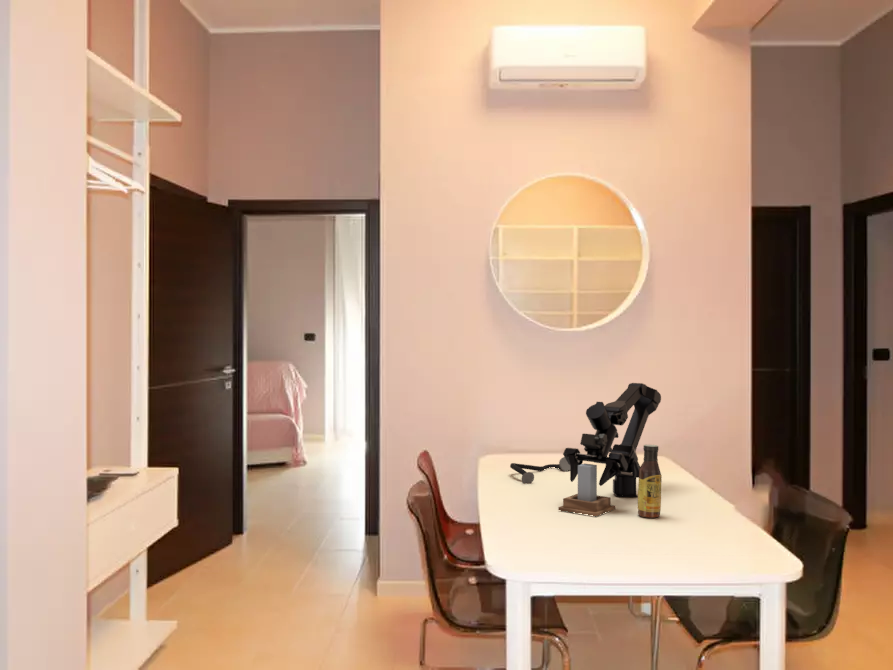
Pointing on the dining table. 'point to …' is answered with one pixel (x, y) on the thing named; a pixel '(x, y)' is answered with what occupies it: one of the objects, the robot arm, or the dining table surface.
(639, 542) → the dining table surface
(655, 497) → the sauce bottle
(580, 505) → the post socket
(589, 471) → the grey square post
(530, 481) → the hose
